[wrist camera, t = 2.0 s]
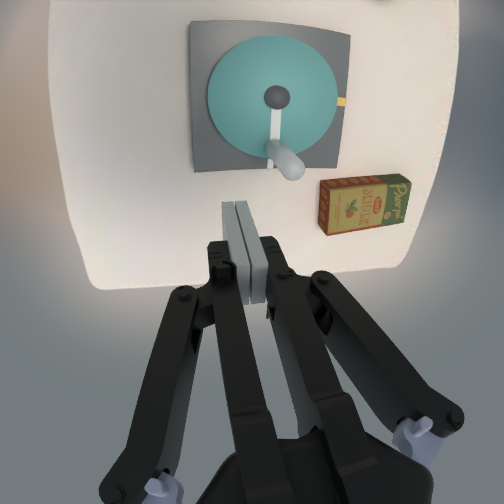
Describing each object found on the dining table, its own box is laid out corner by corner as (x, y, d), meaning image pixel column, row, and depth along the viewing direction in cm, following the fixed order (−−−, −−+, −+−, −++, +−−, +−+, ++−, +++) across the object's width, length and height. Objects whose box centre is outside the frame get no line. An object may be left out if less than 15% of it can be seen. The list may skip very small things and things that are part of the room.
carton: (319, 178, 41) (330, 190, 38) (400, 172, 43) (414, 182, 39) (317, 223, 46) (326, 237, 43) (393, 212, 48) (405, 224, 45)
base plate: (190, 24, 24) (190, 21, 22) (343, 35, 27) (351, 34, 26) (194, 167, 36) (194, 173, 35) (330, 163, 40) (337, 169, 38)
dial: (207, 35, 24) (210, 22, 17) (336, 45, 27) (378, 44, 19) (209, 157, 34) (212, 187, 27) (326, 155, 36) (359, 183, 29)
